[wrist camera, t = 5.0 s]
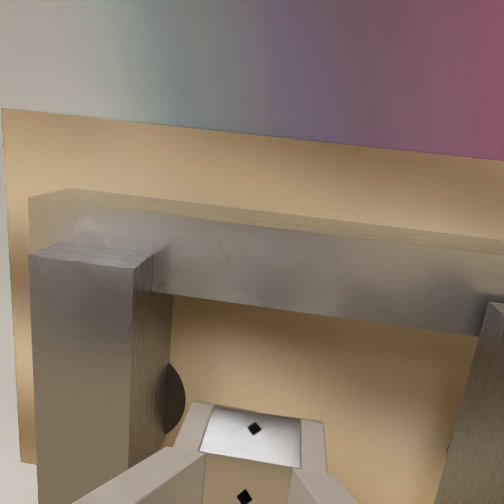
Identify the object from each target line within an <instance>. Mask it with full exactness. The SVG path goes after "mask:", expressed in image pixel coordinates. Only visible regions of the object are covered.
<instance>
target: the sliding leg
mask: <svg viewBox="0 0 504 504" xmlns="http://www.w3.org/2000/svg"><path fill="white" fill-rule="evenodd" d="M434 504H504V303H496V302H488V305H487V309H486V313H485V317H484V320H483V324H482V328H481V331H480V335H479V339H478V342H477V346H476V350H475V354H474V357H473V361H472V365H471V368H470V372H469V376H468V380H467V383H466V387H465V391H464V394H463V398H462V402H461V405H460V409H459V413H458V417H457V420H456V424H455V428H454V431H453V435H452V439H451V442H450V444H449V446H448V447H447V449H446V461H445V465H444V468H443V472H442V476H441V479H440V483H439V487H438V491H437V494H436V498H435V502H434Z"/></svg>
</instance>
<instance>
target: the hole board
mask: <svg viewBox="0 0 504 504" xmlns="http://www.w3.org/2000/svg"><path fill="white" fill-rule="evenodd" d="M1 112H2V130H3V149H4V167H5V185H6V203H7V221H8V240H9V258H10V276H11V294H12V312H13V331H14V349H15V367H16V385H17V403H18V422H19V440H20V458H21V462H25V463H30V464H36V465H37V455H36V431H35V408H34V384H33V361H32V337H31V314H30V290H29V267H28V255H29V254H30V235H29V210H28V197H32V196H36V195H41V194H45V193H50V192H54V191H59V190H63V189H67V188H76V189H84V190H93V191H101V192H109V193H118V194H126V195H134V196H142V197H151V198H159V199H167V200H176V201H184V202H192V203H200V204H209V205H217V206H225V207H234V208H242V209H250V210H259V211H267V212H275V213H283V214H292V215H300V216H308V217H317V218H325V219H333V220H341V221H350V222H358V223H366V224H375V225H383V226H391V227H399V228H408V229H416V230H424V231H433V232H441V233H449V234H458V235H466V236H474V237H482V238H491V239H499V240H504V161H497V160H488V159H478V158H469V157H460V156H450V155H441V154H431V153H422V152H412V151H403V150H394V149H384V148H375V147H365V146H356V145H346V144H337V143H328V142H318V141H309V140H299V139H290V138H280V137H271V136H262V135H252V134H243V133H233V132H224V131H214V130H205V129H196V128H186V127H177V126H167V125H158V124H148V123H139V122H130V121H120V120H111V119H101V118H92V117H82V116H73V115H64V114H54V113H45V112H35V111H26V110H14V109H3V108H1ZM478 339H479V337H476V336H469V335H462V334H454V333H447V332H440V331H433V330H426V329H418V328H411V327H404V326H397V325H390V324H383V323H375V322H368V321H361V320H354V319H347V318H339V317H332V316H325V315H318V314H311V313H303V312H296V311H289V310H282V309H275V308H267V307H260V306H253V305H246V304H239V303H232V302H224V301H217V300H210V299H203V298H196V297H188V296H181V295H174V294H173V309H172V327H171V345H170V363H169V379H168V397H167V415H166V433H165V435H166V436H165V440H164V443H163V445H162V447H161V449H163V448H164V447H166V446H167V447H173V445H174V443H175V440H176V438H177V436H178V433H179V431H180V428H181V426H182V424H183V421H184V419H185V417H186V414H187V412H188V409H189V407H190V405H191V403H192V402H193V401H194V400H195V401H201V402H207V403H213V404H219V405H224V406H230V407H235V408H241V409H246V410H252V411H257V412H260V413H267V414H273V415H280V416H287V417H293V418H305V419H313V420H320V421H323V423H324V430H325V443H326V456H327V468H328V474H331V475H335V476H336V477H337V479H338V480H339V481H340V482H341V483H342V484H343V486H344V487H345V488H346V489H347V490H348V492H349V493H350V494H351V495H352V496H353V497H354V499H355V500H356V501H357V502H358V503H359V504H434V502H435V498H436V494H437V491H438V487H439V483H440V479H441V476H442V472H443V468H444V465H445V461H446V449H447V447H448V446H449V444H450V442H451V439H452V435H453V431H454V428H455V424H456V420H457V417H458V413H459V409H460V405H461V402H462V398H463V394H464V391H465V387H466V383H467V380H468V376H469V372H470V368H471V365H472V361H473V357H474V354H475V350H476V346H477V342H478ZM161 449H160V450H161Z"/></svg>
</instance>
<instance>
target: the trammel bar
mask: <svg viewBox="0 0 504 504" xmlns="http://www.w3.org/2000/svg"><path fill="white" fill-rule="evenodd" d="M28 210H29V235H30V254H29V255H28V267H29V290H30V314H31V337H32V361H33V384H34V408H35V431H36V455H37V478H38V501H39V504H72V503H73V502H75V501H77V500H78V499H80V498H82V497H83V496H85V495H87V494H88V493H90V492H92V491H93V490H95V489H97V488H98V487H100V486H102V485H103V484H105V483H106V482H108V481H110V480H111V479H113V478H115V477H116V476H118V475H120V474H121V473H123V472H125V471H126V470H128V469H130V468H131V467H133V466H135V465H136V464H138V463H139V462H141V461H143V460H144V459H146V458H148V457H149V456H151V455H153V454H154V453H156V452H158V451H159V450H160V449H161V447H162V445H163V443H164V440H165V436H166V435H165V433H166V415H167V397H168V379H169V363H170V345H171V327H172V309H173V294H174V295H181V296H188V297H196V298H203V299H210V300H217V301H224V302H232V303H239V304H246V305H253V306H260V307H267V308H275V309H282V310H289V311H296V312H303V313H311V314H318V315H325V316H332V317H339V318H347V319H354V320H361V321H368V322H375V323H383V324H390V325H397V326H404V327H411V328H418V329H426V330H433V331H440V332H447V333H454V334H462V335H469V336H476V337H479V335H480V331H481V328H482V324H483V320H484V317H485V313H486V309H487V305H488V302H496V303H504V240H499V239H491V238H482V237H474V236H466V235H458V234H449V233H441V232H433V231H424V230H416V229H408V228H399V227H391V226H383V225H375V224H366V223H358V222H350V221H341V220H333V219H325V218H317V217H308V216H300V215H292V214H283V213H275V212H267V211H259V210H250V209H242V208H234V207H225V206H217V205H209V204H200V203H192V202H184V201H176V200H167V199H159V198H151V197H142V196H134V195H126V194H118V193H109V192H101V191H93V190H84V189H76V188H67V189H63V190H59V191H54V192H50V193H45V194H41V195H36V196H32V197H28Z"/></svg>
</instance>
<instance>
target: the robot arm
mask: <svg viewBox="0 0 504 504" xmlns="http://www.w3.org/2000/svg"><path fill="white" fill-rule="evenodd" d="M72 504H359V503H358V502H357V501H356V500H355V499H354V497H353V496H352V495H351V494H350V493H349V492H348V490H347V489H346V488H345V487H344V486H343V484H342V483H341V482H340V481H339V480H338V479H337V477H336V476H335V475H331V474H328V468H327V456H326V443H325V430H324V423H323V421H320V420H313V419H305V418H293V417H287V416H280V415H273V414H267V413H260V412H257V411H252V410H246V409H241V408H235V407H230V406H224V405H219V404H213V403H207V402H201V401H195V400H194V401H193V402H192V403H191V405H190V407H189V409H188V412H187V414H186V417H185V419H184V421H183V424H182V426H181V428H180V431H179V433H178V436H177V438H176V440H175V443H174V445H173V447H167V446H166V447H164V448H163V449H161V450H159V451H158V452H156V453H154V454H153V455H151V456H149V457H148V458H146V459H144V460H143V461H141V462H139V463H138V464H136V465H135V466H133V467H131V468H130V469H128V470H126V471H125V472H123V473H121V474H120V475H118V476H116V477H115V478H113V479H111V480H110V481H108V482H106V483H105V484H103V485H102V486H100V487H98V488H97V489H95V490H93V491H92V492H90V493H88V494H87V495H85V496H83V497H82V498H80V499H78V500H77V501H75V502H73V503H72Z"/></svg>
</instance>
